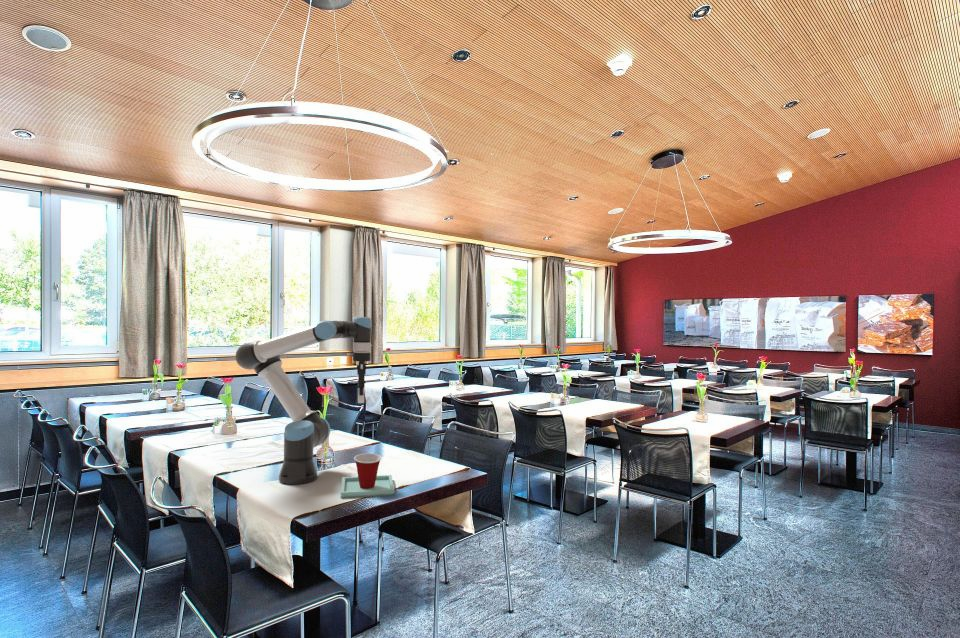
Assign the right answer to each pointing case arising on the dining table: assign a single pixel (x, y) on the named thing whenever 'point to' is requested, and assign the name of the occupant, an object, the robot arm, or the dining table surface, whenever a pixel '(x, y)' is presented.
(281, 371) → the robot arm
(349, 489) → the tray
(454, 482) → the dining table surface
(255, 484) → the dining table surface
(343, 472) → the dining table surface
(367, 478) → the plastic cup
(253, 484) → the dining table surface
